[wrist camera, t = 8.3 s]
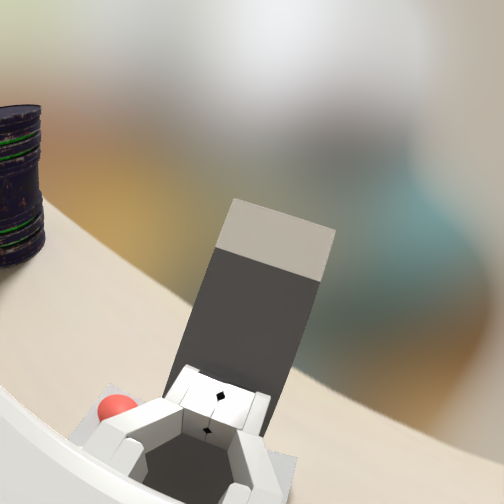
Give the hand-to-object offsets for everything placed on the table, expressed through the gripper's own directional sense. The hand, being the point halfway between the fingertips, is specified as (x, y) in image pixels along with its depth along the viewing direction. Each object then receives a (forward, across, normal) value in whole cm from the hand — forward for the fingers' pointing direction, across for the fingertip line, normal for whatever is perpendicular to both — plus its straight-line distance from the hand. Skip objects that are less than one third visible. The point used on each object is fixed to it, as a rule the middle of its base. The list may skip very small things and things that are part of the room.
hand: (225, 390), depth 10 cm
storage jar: (+10, +29, +10) cm, 33 cm away
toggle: (-4, 0, +7) cm, 8 cm away
